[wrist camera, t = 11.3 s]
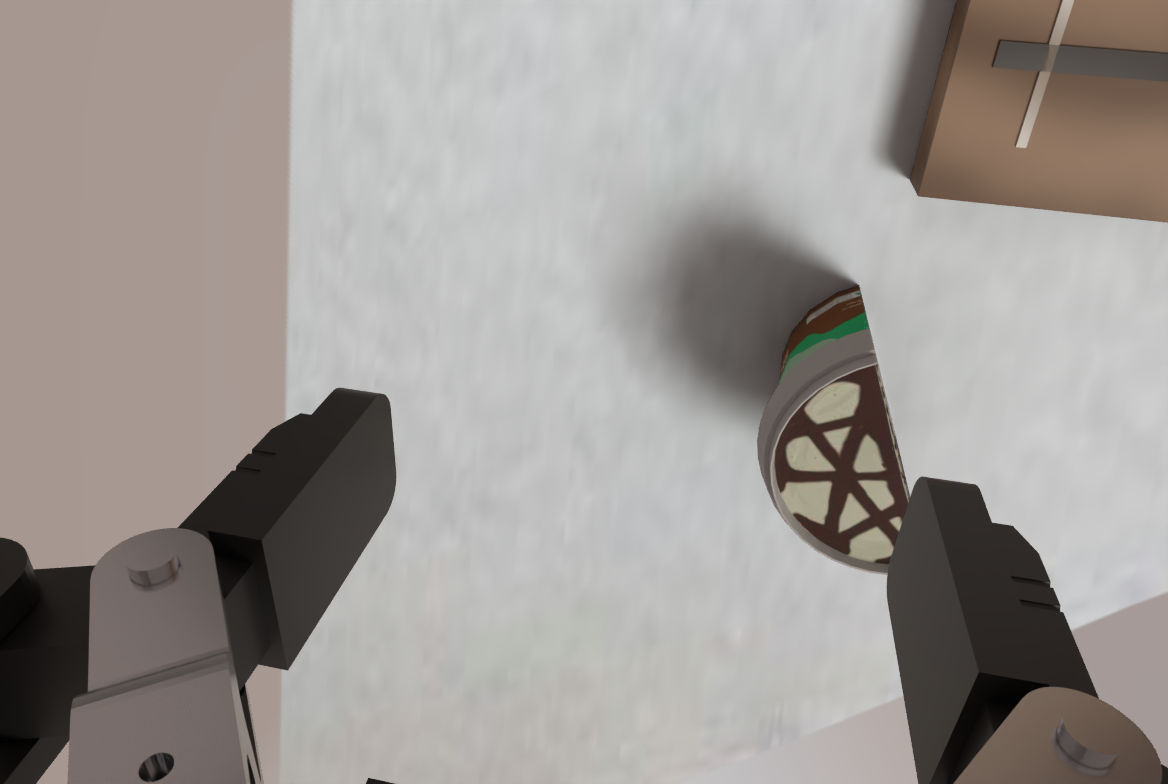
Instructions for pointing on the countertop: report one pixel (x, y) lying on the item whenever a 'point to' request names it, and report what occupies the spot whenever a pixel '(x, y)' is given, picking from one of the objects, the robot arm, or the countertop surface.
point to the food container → (834, 440)
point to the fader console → (1051, 108)
